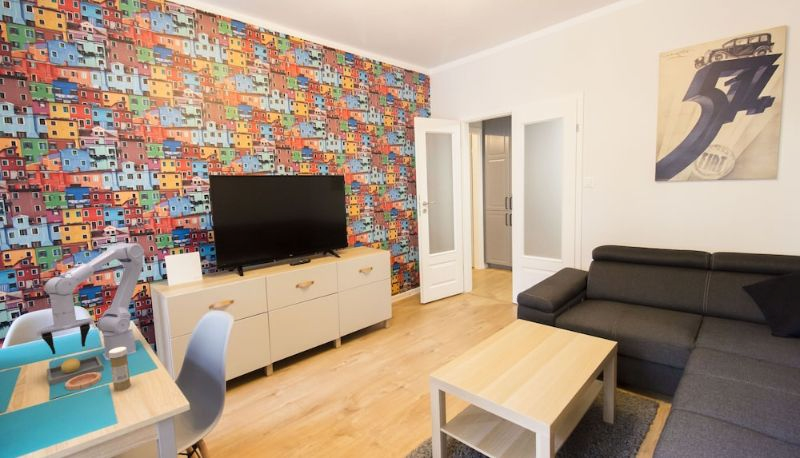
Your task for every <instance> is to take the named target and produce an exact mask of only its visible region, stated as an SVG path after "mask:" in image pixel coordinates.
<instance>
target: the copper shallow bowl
mask: <svg viewBox="0 0 800 458" xmlns="http://www.w3.org/2000/svg"><path fill="white" fill-rule="evenodd" d="M102 378H103V377H102V373H101V372H93V373H86V374H82V375H79V376H76V377H74V378H72V379H70V380H68V381H65V382H64V384H65V389H66V390H68V391H77V390H83V389H85V388H88V387H91V386H94V385H95V384H97V383H99V382H100V381H101V380H102Z"/></svg>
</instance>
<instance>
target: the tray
mask: <svg viewBox="0 0 800 458" xmlns="http://www.w3.org/2000/svg"><path fill="white" fill-rule="evenodd" d="M78 360H79V361H80V367H79V368H78V370H76V371H75V372H73V373H64V372H63V371H62V370H61V365H62V364H60V365H55V366H52V367H50V368H46V373H47V378H48V385H49V387H51V386H54V385H58V384H61V383H66V382H67V381H68V380H70V379H72V378H74V377H76V376H79V375H82V374H86V373H93V372H97V373H100V372H103V371H105V370H104V365H103V363H102V361H101V359H100V357H99V355H94V356H91V357H86V358H83V359H78Z"/></svg>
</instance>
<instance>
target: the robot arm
mask: <svg viewBox="0 0 800 458" xmlns="http://www.w3.org/2000/svg"><path fill="white" fill-rule="evenodd" d="M144 255H145V250H144V248H143V246H142V245H141V244H139V243H137V242H134V243H125V242H118V243H115V244H113V245H111V246H109V247H108V249H106V250H105V251H103V252H102V253H101V254H98V256H95V258H93V259H92V260H90V261H89V262H87V263H76V264H74V265H73V267H72V268H71V269H69V270H67V271H66V272H61V273H60V275H59V277H52V278H50V279H49V280H48V281H47V282H46V284H45V286H44V287H43V289H44V292H45V293H46V294H48V296H49V299H50V305H51V314H52V321H53V325H48V326H45V327H42V328H38V329H36V330H35V331H36V336H37V337H41V339H43V341H44V342H45V343H46V344H47V346H48V347H49V348H50V350H51V353H52V355H56V349H55V346H54V345H55V344H54V337H53V333H56V332H62V331H65V330H66V331H67V330H70V329H71V330H72V329H75V328H79V331H80V341H81V343H80V344H81V347H82V348H83V347H86V340H87V337H88V334H89V331H90V329H91V326H90V325H94V318H93V317H89V318H82V319H81V318H80V319H77V317H76V315H77V314H76V309H75V302H74V295H73V294H74V292H75V290H76V288H77V286H79V285H80V284H82V283H84V282H86V280H89V279H90V278H92V277H93V276H94V272H95V271H96V270H99V268H101V267H103V266H105V265H107V264H108V263H110V262H112V261H114V260H117V261H118V262H119V263H121V264H122V266H123V267H124V270H123V273H122V276H121V278H120V281H119V284H118V286H117V289H116V292H115V295H114V297H113V300H112V303H111V306H110V307H109V308H107V309H106V310H104V312H103V314H102V316H101V317H100V318H99V319H98V321H97V324H96V327H97V329H98V330H99V332H101V334H102V337H103V345H104V353H103V354H102V356H103V357H104V359H105V361H110V357H109V351H110V350H112V349H114V348H118V347H126V348H127V356H128V355H131V354H134V353H137V349H136V340H135V333H134V330H133V329H132V328H130V326H131V316H132V314H131V313H130V311H129V310H128V309H129V306H130V304H131V301H132V297H133V295H134V293H135V290H136V288H137V284H138V281H139V279H140V276H141V272H142V271H143V266H144V264H143V263H144V262H143V260H144V259H143V258H144ZM129 328H130V329H129Z"/></svg>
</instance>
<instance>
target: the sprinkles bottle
mask: <svg viewBox="0 0 800 458" xmlns="http://www.w3.org/2000/svg"><path fill="white" fill-rule="evenodd" d="M109 357H110V360H109V361H110V370H111V376H112V377H111V378H112V383H113V391H114V392H116V393H117V392H123V391H125V390H128V389H130V388H131V386H132V384H131V380H130V379H131V378H130V377H131V376H130V368H129V363H128V362H129V361H128V355H127V348H126V347H118V348H114V349H112V350H110V351H109Z"/></svg>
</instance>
